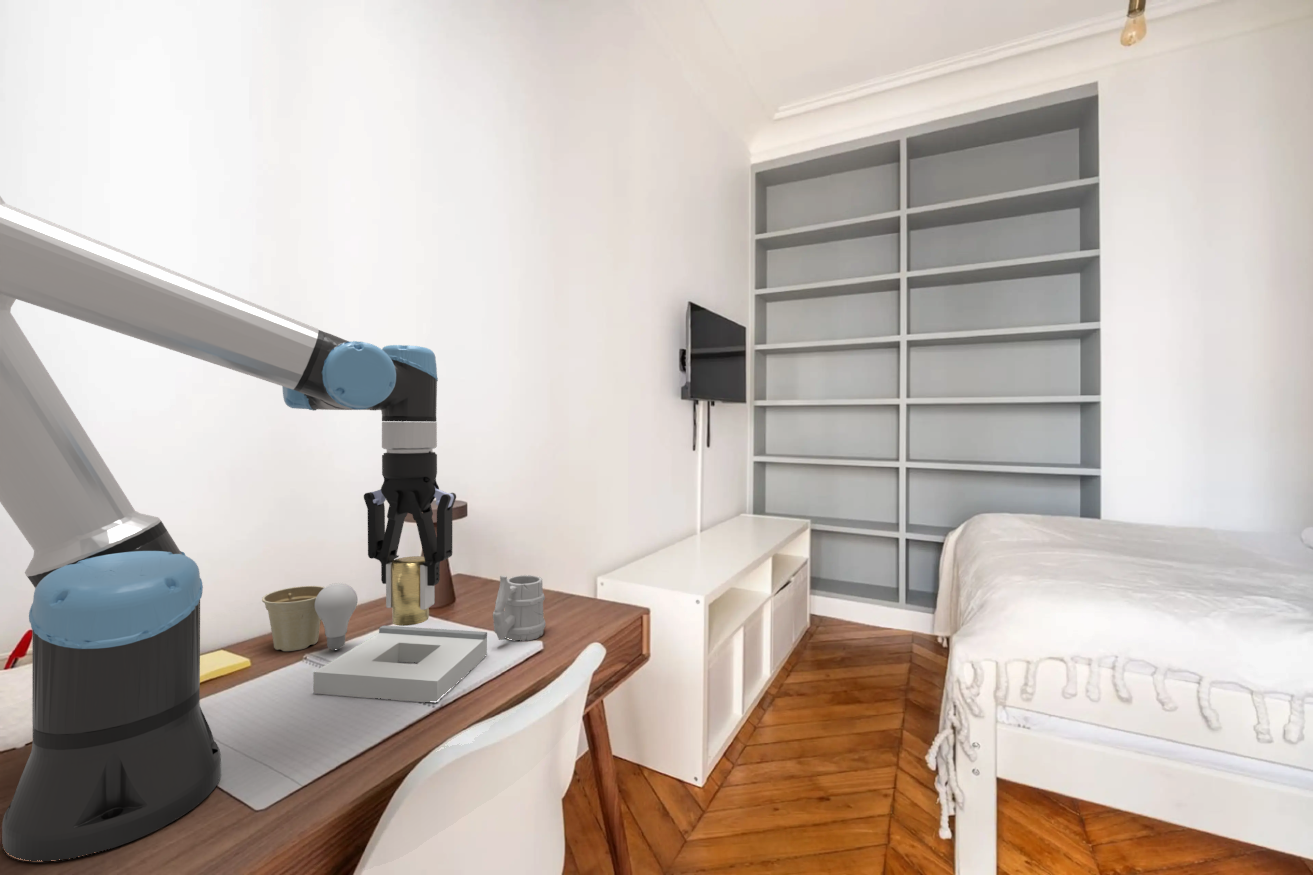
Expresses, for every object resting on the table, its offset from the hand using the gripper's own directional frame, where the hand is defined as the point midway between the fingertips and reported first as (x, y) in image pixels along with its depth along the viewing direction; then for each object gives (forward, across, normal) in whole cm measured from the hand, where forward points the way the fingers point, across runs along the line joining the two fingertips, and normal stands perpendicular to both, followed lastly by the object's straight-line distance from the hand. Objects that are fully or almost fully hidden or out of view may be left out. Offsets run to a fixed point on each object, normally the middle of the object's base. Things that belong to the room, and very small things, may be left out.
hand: (410, 605), depth 84 cm
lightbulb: (+10, +16, -6) cm, 20 cm away
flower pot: (+10, +24, -7) cm, 27 cm away
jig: (+10, 0, 0) cm, 10 cm away
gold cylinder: (+2, 0, 0) cm, 2 cm away
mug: (+11, -11, -16) cm, 22 cm away
